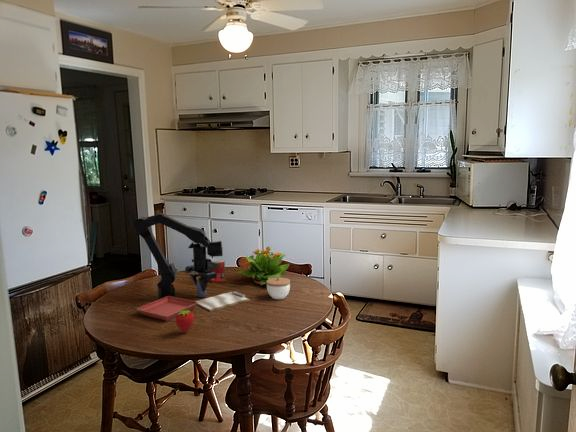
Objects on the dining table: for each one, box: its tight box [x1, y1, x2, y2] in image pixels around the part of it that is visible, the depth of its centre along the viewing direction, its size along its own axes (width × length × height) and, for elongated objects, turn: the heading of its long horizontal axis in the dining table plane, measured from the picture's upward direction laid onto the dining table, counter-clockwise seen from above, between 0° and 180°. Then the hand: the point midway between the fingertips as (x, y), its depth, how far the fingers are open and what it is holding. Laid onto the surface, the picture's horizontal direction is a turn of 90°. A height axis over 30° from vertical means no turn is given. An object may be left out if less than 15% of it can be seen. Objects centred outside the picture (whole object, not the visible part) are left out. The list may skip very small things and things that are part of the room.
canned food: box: [208, 257, 226, 284], centre depth 227 cm, size 8×8×11 cm
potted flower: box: [237, 246, 290, 286], centre depth 224 cm, size 25×24×18 cm
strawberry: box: [175, 307, 195, 334], centre depth 162 cm, size 6×8×10 cm
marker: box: [196, 276, 207, 298], centre depth 202 cm, size 4×4×9 cm
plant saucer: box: [136, 296, 198, 322], centre depth 184 cm, size 18×18×3 cm
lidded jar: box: [265, 276, 291, 300], centre depth 199 cm, size 11×11×9 cm
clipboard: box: [194, 290, 251, 313], centre depth 196 cm, size 20×15×2 cm
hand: (201, 290), depth 202 cm, fingers closed on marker, 4 cm apart
